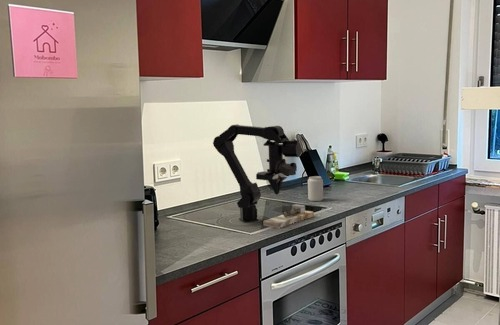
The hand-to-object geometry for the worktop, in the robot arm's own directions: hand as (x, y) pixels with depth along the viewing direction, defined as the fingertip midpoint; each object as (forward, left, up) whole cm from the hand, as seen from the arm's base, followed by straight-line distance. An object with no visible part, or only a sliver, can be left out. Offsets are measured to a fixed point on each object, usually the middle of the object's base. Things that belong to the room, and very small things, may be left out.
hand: (276, 194), depth 202 cm
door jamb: (+5, 0, -12) cm, 13 cm away
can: (+36, +31, -12) cm, 49 cm away
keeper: (+11, +2, -10) cm, 15 cm away
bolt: (+7, +1, -10) cm, 12 cm away
